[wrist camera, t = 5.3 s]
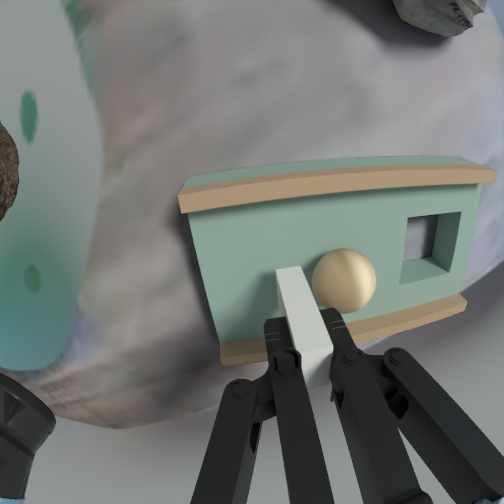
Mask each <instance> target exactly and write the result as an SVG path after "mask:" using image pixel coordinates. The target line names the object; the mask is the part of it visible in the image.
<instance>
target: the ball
mask: <svg viewBox="0 0 504 504" xmlns="http://www.w3.org/2000/svg"><path fill="white" fill-rule="evenodd" d="M312 288H313V292H314V294H315V297H316V298H317V300H318V301H319V303H320V304H321V305H322V306H323V307H324V308H326V309H327V308H332V307H334V308H335V309H336V310H337V311H339V312H340V314H349V313H353V312H356V311H358V310H360V309H361V308H363V307H364V306H365V305H366V304H367V303H368V302H369V301H370V299H371V298H372V296H373V294H374V291H375V288H376V274H375V270H374V267H373V265H372V263H371V262H370V260H369V259H368V258H367V257H366V256H365V255H363V254H362V253H360V252H359V251H356V250H354V249H349V248H340V249H336V250H333V251H330V252H329V253H327V254H326V255H324V256H323V257H322V258H321V259H320V260H319V262H318V263H317V265H316V267H315V269H314V272H313V276H312Z"/></svg>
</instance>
